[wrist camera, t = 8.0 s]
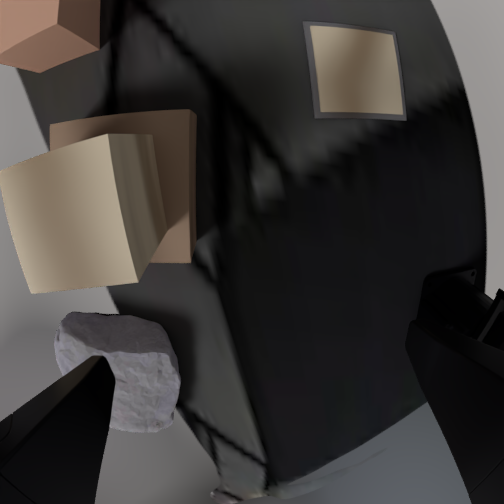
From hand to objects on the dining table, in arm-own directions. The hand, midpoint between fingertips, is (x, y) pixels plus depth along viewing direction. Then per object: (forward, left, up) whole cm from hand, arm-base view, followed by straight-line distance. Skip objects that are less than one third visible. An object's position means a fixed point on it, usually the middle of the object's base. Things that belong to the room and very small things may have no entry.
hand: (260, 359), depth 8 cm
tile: (-9, -10, -12) cm, 18 cm away
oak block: (+6, -4, -9) cm, 11 cm away
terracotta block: (+10, -16, -13) cm, 23 cm away
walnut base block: (+6, -4, -13) cm, 15 cm away
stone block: (+11, +11, -13) cm, 20 cm away
